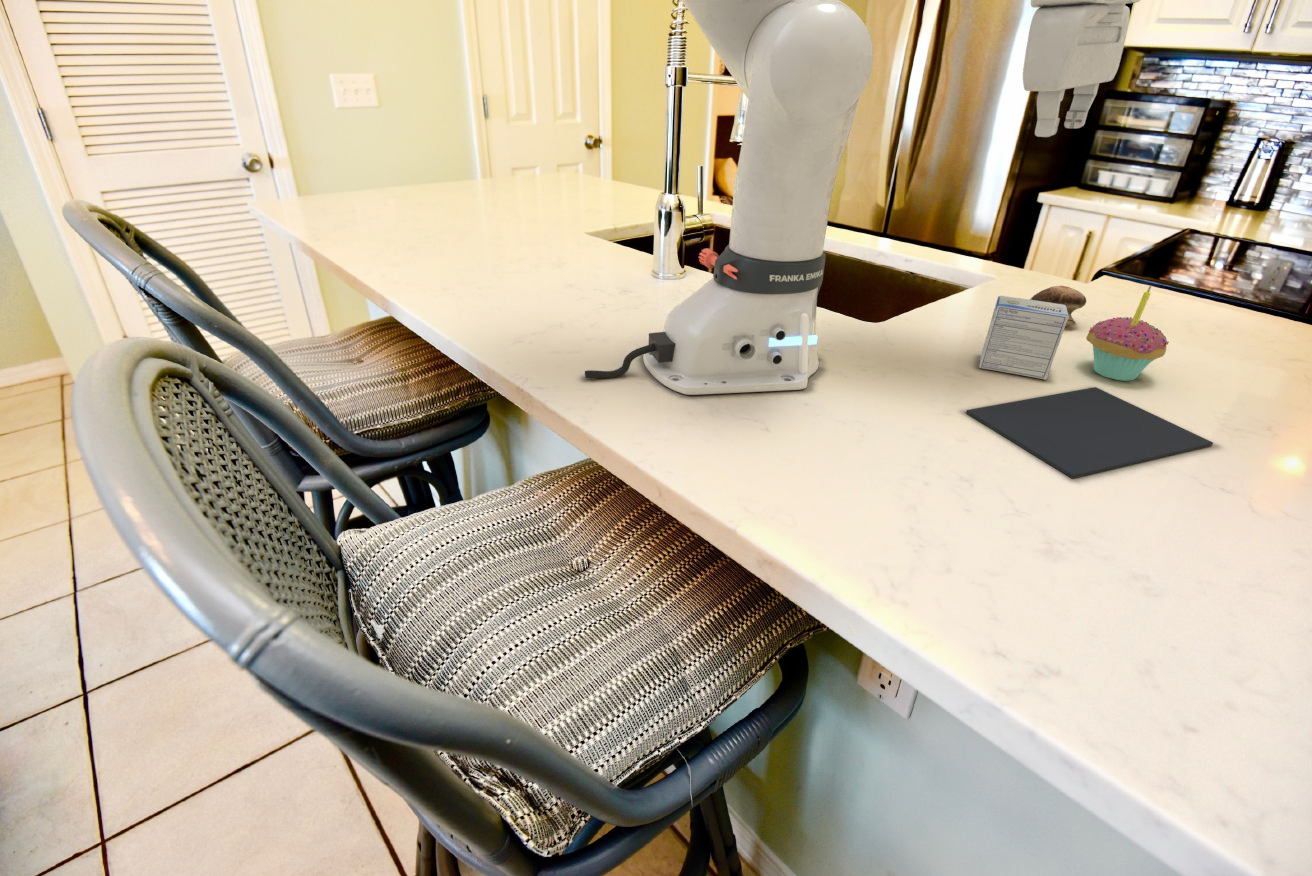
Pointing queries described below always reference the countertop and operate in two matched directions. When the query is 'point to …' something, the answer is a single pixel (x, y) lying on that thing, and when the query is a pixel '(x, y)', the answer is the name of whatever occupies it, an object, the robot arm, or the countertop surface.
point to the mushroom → (1062, 299)
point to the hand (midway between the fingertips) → (1059, 131)
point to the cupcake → (1126, 345)
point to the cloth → (1087, 431)
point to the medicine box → (1023, 336)
